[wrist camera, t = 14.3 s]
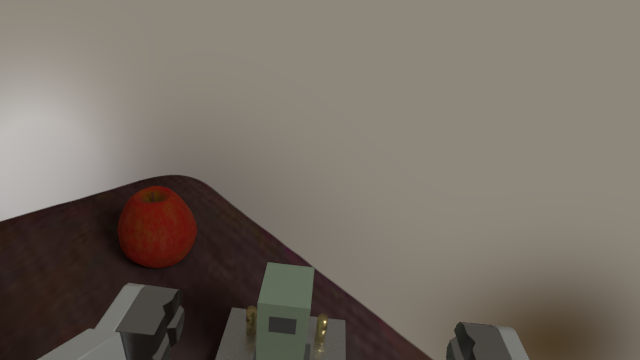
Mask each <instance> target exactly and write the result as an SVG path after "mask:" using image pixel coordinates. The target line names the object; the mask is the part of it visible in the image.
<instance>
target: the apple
mask: <svg viewBox="0 0 640 360" xmlns="http://www.w3.org/2000/svg"><path fill="white" fill-rule="evenodd" d="M117 233H118V237H119V242H120V247H121V249H122V250H123V252H124V253H125V255H126V257H127V258H129V259H130V260H131V261H132V262H134V263H136V264H139V265H142V266H145V267H150V268H163V267H169V266H172V265H174V264H176V263H178V262H179V261H181V260H183V259H184V257H185V256H186V255H187V254H188V252H189V251H190V249H191V248H192V246H193V244H194V242H195V238H196V233H197V226H196V223H195V219H194V216H193V214H192V212H191V211H190V209H189V207H188V206H187V205H186V204H185V202H184V201H183V200H182V199H181V198H180V197H179V196H178V195H177V194H176V193H175V192H173V191H172V190H170V189H169V188H166V187H160V186H152V187H148V188H146V189H143V190H141V191H139V192H137V193H135V194H134V195H132V196H131V198H130V199H129V200H128V201H127V203H126V205H125V207H124V209H123V210H122V213H121V215H120V218H119V222H118V230H117Z"/></svg>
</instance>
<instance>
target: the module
mask: <svg viewBox="0 0 640 360" xmlns="http://www.w3.org/2000/svg"><path fill="white" fill-rule="evenodd" d="M313 277H314V268H312V267H303V266H295V265H286V264H278V263H269V262H268V264H267V268H266V272H265V276H264V280H263V284H262V288H261V292H260V296H259V300H258V310H257V340H256V360H304V353H305V346H306V339H307V331H308V324H309V316H310V309H311V298H312V287H313Z"/></svg>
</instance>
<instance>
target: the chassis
mask: <svg viewBox="0 0 640 360" xmlns="http://www.w3.org/2000/svg"><path fill="white" fill-rule="evenodd" d="M256 340H257V308H256V307H255V306H249V307H248V308H247V309H240V308H232V309H231V312H230V315H229V319H228V322H227V325H226V328H225V331H224V334H223V337H222V340H221V343H220V346H219V350H218V353H217V356H216V359H215V360H256ZM304 360H346V354H345V320H337V319H328V316H327V315H325V314H320V315H319V316H318V317H310V316H309V324H308V331H307V339H306V346H305V353H304Z"/></svg>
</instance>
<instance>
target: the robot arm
mask: <svg viewBox="0 0 640 360" xmlns="http://www.w3.org/2000/svg"><path fill="white" fill-rule="evenodd" d="M182 299H183V296H182V291H181V290H177V289H170V288H163V287H156V286H149V285H141V284H133V283H128V284H127V285H125V286H124V287H123V288H122V290H121V291H120V293H119V294H118V295H117V297H116V298H115V300H114V301H113V303H112V304H111V306H110V307H109V308H108V310H107V311H106V313H105V314H104V316H103V317H102V319H101V320H100V321H99V323H98V324H97V326H96V327H95V329H87V330H86V331H84V332H83V333H81V334H79V335H78V336H76V337H74V338H73V339H71V340H69V341H68V342H66V343H64V344H63V345H61V346H59V347H58V348H56V349H54V350H53V351H51V352H49V353H48V354H46V355H44V356H43V357H41V358H39V359H38V360H170V358H171V351H170V348H171V347H172V346H173V345H175V344H176V343H177V342H178V340H179V338H180V335H181V333H182V329H183V325H184V316H185V315H184V309H183V308H182V307H181V306H180V304H181V302H182ZM454 331H455V334H456V337H455V338H453V339H451V340H450V342H449V344H448V347H447V356H446V359H447V360H529V358H528V356H527V354H526V352H525V350H524V348H523V346H522V344H521V342H520V340H519V338H518V336H517V334H516V332H515V330H514V329H513V328H510V327H501V326H493V325H485V324H476V323H466V322H459V323H458V324H457V325H456V328H455V330H454Z"/></svg>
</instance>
